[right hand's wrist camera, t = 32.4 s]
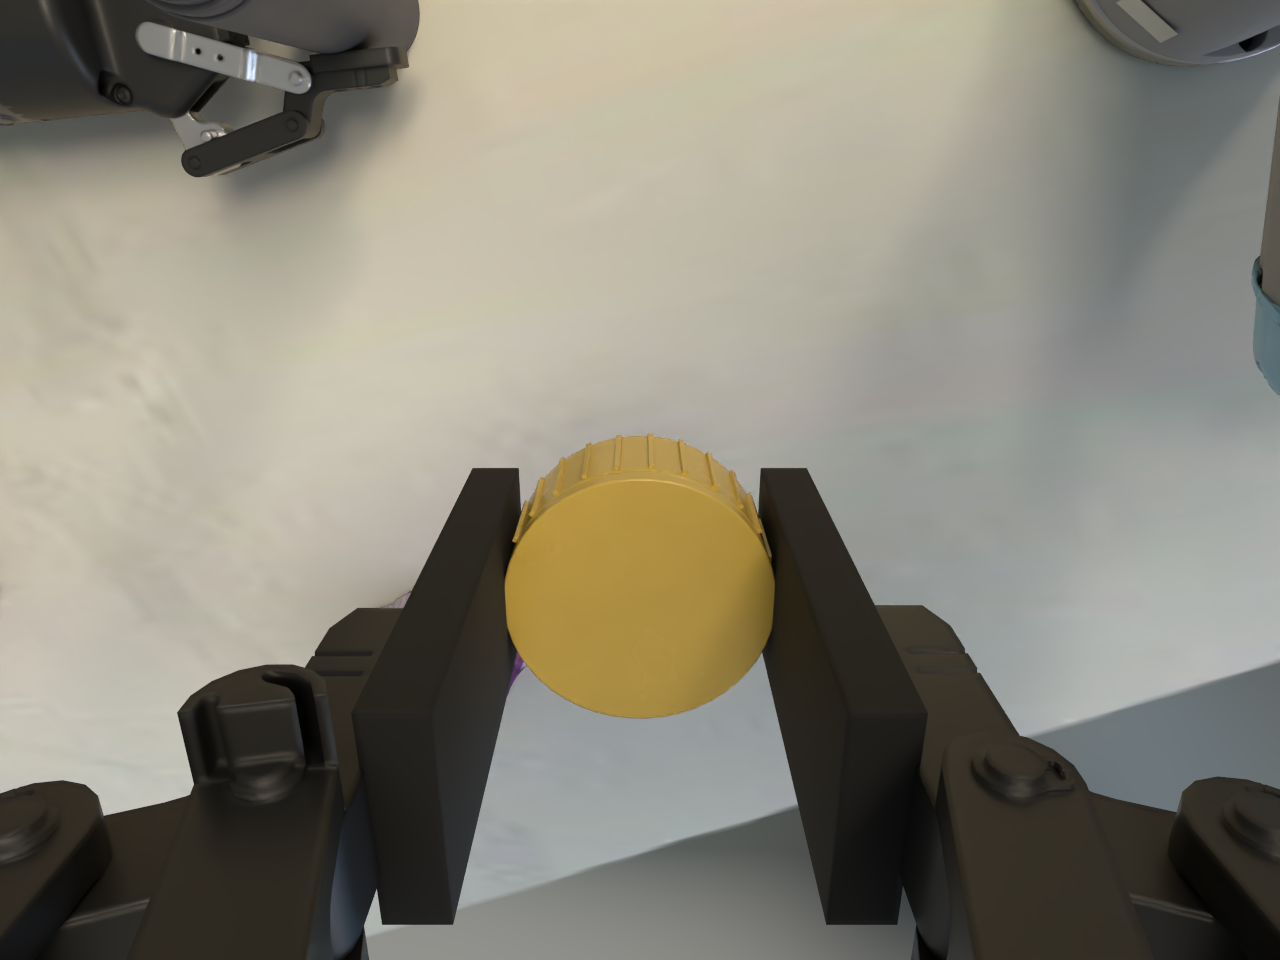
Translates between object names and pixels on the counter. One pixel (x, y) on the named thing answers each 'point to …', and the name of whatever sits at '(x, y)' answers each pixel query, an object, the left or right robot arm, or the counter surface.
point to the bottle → (308, 21)
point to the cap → (639, 579)
